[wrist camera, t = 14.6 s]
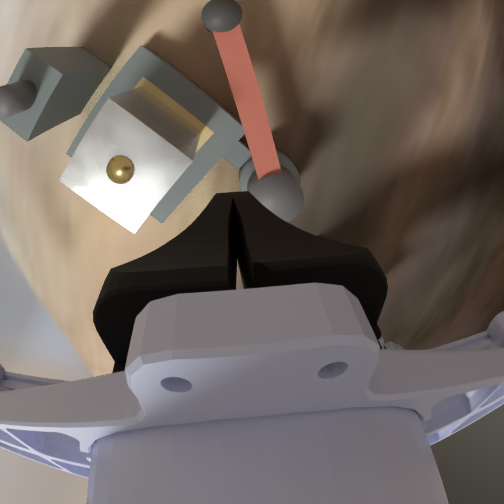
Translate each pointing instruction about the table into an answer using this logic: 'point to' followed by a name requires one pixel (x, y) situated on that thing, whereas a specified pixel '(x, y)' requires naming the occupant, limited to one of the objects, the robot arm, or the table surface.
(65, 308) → the table surface
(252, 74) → the lever
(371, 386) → the robot arm
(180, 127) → the block
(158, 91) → the press
